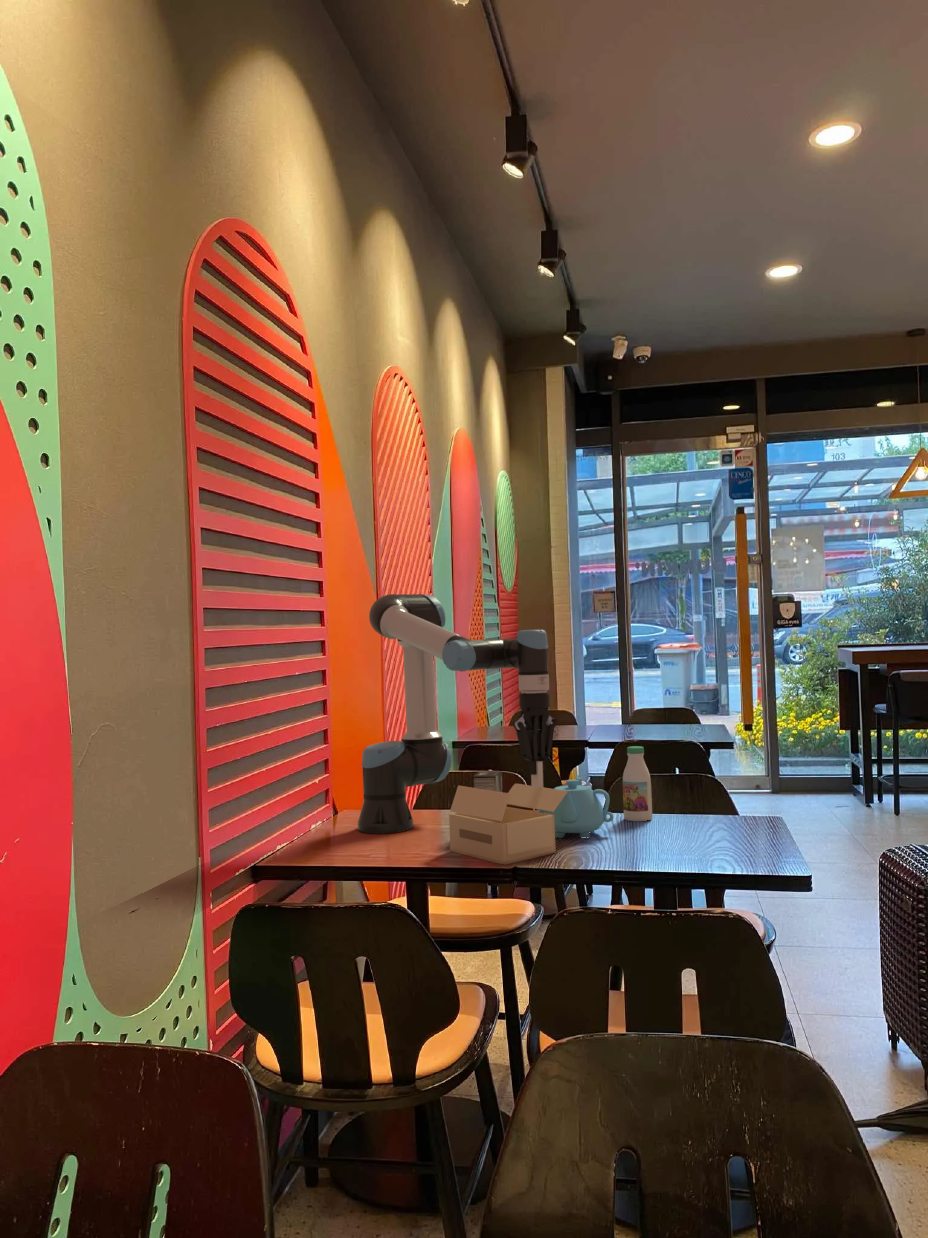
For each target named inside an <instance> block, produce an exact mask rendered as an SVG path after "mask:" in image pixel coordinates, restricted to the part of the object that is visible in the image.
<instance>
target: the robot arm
mask: <svg viewBox="0 0 928 1238" xmlns="http://www.w3.org/2000/svg"><path fill="white" fill-rule="evenodd" d="M368 615H369V616H368V619H369V623H370V626H371V627H372V629H373V630H374V632H376V633H377V634H379V635H381V636H382V637H385V638H386V639H389V640H397V643H398V644H399V645H400V646H401V647H402V650H403V651H402V652H403V655H402V656H403V677H404V679H403V680H404V696H405V698H404V701H405V717H406V718H405V719H406V720H405V722H406V732H405V733H404V734H403V735H402V737H401V740H389V741H382V742H377V743H374V744H370V745H367V746H366V747H365V748H364V750H362V757H361V758H362V759H361V767H362V788H363V789H362V791H363V792H362V793H363V794H362V795H363V802H362V806H361V809H360V812H359V817H358V821H357V830H358V831H359V832H360V833H365V834H392V833H393V834H394V832H395V833H401V832H400V831H402V832H404V831H403V830H406V831H408V830H407V829H409V830H412V829H413V828H414V819H413V816H412V814H411V810H410V807H409V803H408V802H407V798H406V797H407V796H406V793H407V792H406V788H407V787H408V788H409V787H413V786H419V785H420V786H421V785H431V784H434V783H437V782H441V781H443V780H444V779H446V777H447V776H448V775H449V773H450V771H451V769H452V765H453V764H452V761H453V756H452V755H453V754H452V751H451V749H450V746H449V745H448V744H447V743H446V742H445V741H443V735H442V734H441V733H440V731H438V729H437V726H438V725H437V705H436V688H435V686H436V685H435V684H436V683H435V666H434V665H435V664H434V662H435V661H434V657H435V658H437V659H440V660H441V661H442V662H443V664H444V665H445V667H446V668H447V669H448V670H450V671H452V672H453V671H454V672H455V671H458V672H466V671H480V670H499V669H518V670H517V671H518V691H519V692H520V693H519V694H518V698H519V699H518V700H519V702H518V703H519V704H518V705H519V708H520V709H521V710H520V715H519V717H520V718H519V719H517V721H513V722H512V726H513V728H514V730H515V732H516V735H517V741H518V745H519V749H520V755H521V758H522V759H523V760H525V761H527V762H528V767H529V768H528V769H529V771H528V772H529V775H530V777H531V779H530V780H531V786H532V788H543V787H544V774H545V762H546V761H547V760H548V758H550V757H551V754H552V747H553V741H554V733H555V727H556V725H557V722H558V719H557V718H553V717H552V716H551V715H550V711H549V707H550V705H551V702H550V701H551V700H550V693H549V692H547V691H549V690H550V678H549V676H550V674H549V643H548V642H549V641H548V633H547V632H546V630H544V629H523V630H518V631H517V633H516V638H493V639H491V638H489V639H470V638H467V637H465V636H463V635H460V634H458V633H456V632H454V631H451V630H449V629H446V628H444V627H445V625H446V613H445V609H444V607H443V605H442V602H441V601H439V600H438V598H437V597H436V596H433V595H430V594H429V595H428V594H424V593H423V594H421V593H417V594H411V593H409V594H408V593H407V594H395V593H393V594H392V593H391V594H385V595H383V596H380V597H379V598H378V599H376V600H375V601H374V602H373V604H372V606H371V607H370V610H369V614H368ZM412 827H413V828H412ZM411 828H412V829H411Z"/></svg>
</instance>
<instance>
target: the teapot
mask: <svg viewBox="0 0 928 1238" xmlns="http://www.w3.org/2000/svg"><path fill="white" fill-rule="evenodd" d="M565 782H566V785H560V786H559V785H558V786H556V787H554V788H553V789H558V790H565V791H568V792H567V794H566V795H565V796H564V798H563V799H562V801H561V802H560V804H559V805H558V806H557V808H556V809H555V811H554V812H549V811H544V810H536V812H541V813H547V814H553V815H554V822H555V837H564V838H565V835H566V833H568V834H573V833H574V834H579V838H580V837H586V838H587V837H591V838H592V835H591V833H589V832H594V833H595V831H597V830H599V829H600V828H601V827H602V826H603V824H604V822H605V823H610V822H612V821H613V820H614V814H613V813H612V812H611V811H609V807H610V794H609V793H608V791H606V790H604V789H600V788H597V789H594V790H593V789H592V787H590V786H588V785H583V775H582V774H578V775H577V776H576V778H575V779H568V780H566V781H565ZM597 794H602V795H603V796H604V798H605V802H604V806H602V803H601V801H600V799H599V797H598V796H597ZM608 815H609V817H607V816H608Z"/></svg>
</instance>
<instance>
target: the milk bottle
mask: <svg viewBox="0 0 928 1238" xmlns="http://www.w3.org/2000/svg"><path fill="white" fill-rule="evenodd" d="M626 755H627V762H626V764H625V765H626V766H625V768H624V770H623V773H622V799H623V800H622V802H623V805H622V806H623V818H624V821H628V822H648V821H647V820H649V821H651V820H653V803H652V801H653V799H652V797H653V796H652V783H651V782H652V781H651V774H650V772H649V769H648V767H647V764H646V761H645V759H644V755H645V749H644V746H639V745H638V746H637V745H635V746H634V745H632V746H628V747H627V748H626Z"/></svg>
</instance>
